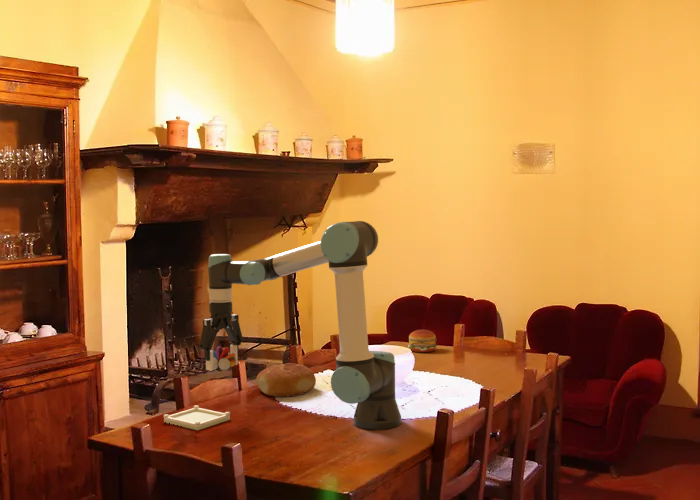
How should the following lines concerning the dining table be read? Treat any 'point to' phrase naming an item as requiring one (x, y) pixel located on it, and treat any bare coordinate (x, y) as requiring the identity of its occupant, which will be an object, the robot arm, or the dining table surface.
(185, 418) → the white square tray
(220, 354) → the colourful fan
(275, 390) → the bread
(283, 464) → the dining table surface
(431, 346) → the burger
